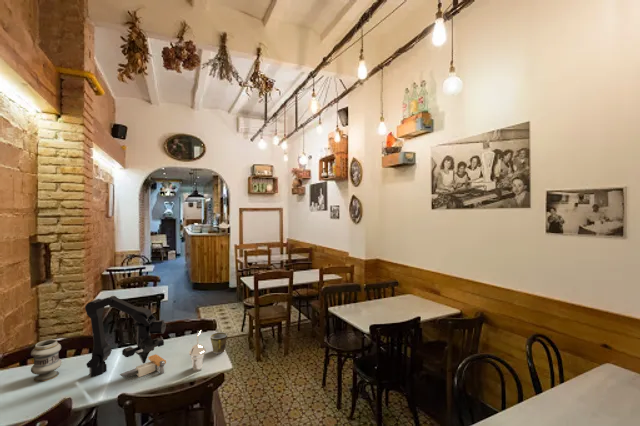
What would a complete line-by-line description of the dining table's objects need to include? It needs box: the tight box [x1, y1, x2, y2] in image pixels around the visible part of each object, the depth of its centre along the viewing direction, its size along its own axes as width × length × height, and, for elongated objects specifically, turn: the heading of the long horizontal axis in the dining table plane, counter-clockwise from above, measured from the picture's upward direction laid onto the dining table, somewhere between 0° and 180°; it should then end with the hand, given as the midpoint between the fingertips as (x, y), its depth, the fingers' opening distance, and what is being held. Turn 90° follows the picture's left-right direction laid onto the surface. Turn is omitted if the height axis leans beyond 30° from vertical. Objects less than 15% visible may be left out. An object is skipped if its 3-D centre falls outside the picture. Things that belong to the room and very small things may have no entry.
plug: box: [125, 361, 156, 378], centre depth 159 cm, size 13×4×4 cm, turn 141°
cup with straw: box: [188, 329, 207, 373], centre depth 166 cm, size 8×9×20 cm
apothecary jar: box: [30, 339, 63, 383], centre depth 159 cm, size 12×12×18 cm
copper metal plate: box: [147, 354, 167, 367], centre depth 164 cm, size 4×13×2 cm, turn 51°
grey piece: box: [119, 364, 166, 384], centre depth 160 cm, size 16×18×5 cm
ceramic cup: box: [209, 331, 228, 355], centre depth 186 cm, size 13×10×10 cm
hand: (143, 363), depth 162 cm, fingers closed
